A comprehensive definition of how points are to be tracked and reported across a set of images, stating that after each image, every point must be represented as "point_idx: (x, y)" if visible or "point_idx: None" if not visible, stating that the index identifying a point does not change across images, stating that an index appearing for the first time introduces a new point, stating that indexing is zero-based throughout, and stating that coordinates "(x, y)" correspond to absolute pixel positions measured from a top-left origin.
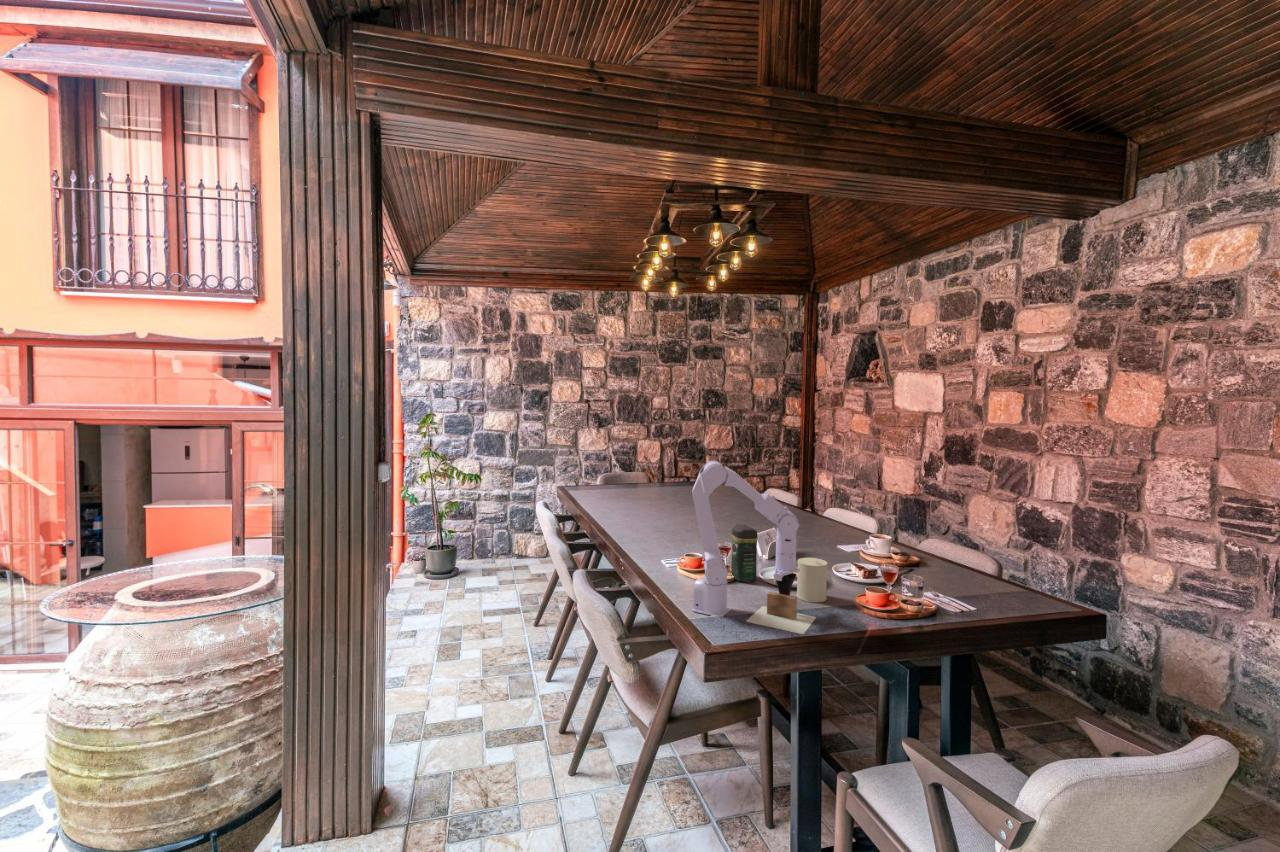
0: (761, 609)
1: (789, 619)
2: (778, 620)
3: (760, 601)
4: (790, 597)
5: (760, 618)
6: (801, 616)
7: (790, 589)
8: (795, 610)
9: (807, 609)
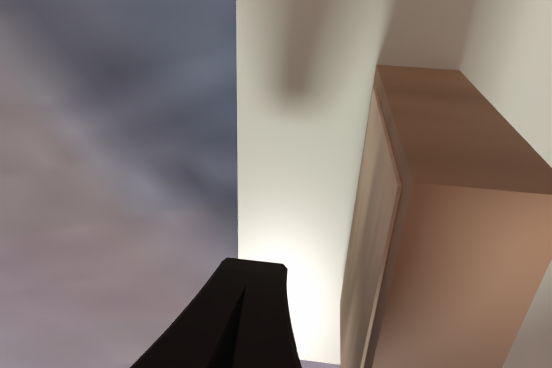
0: (318, 348)
1: None
2: None
3: (128, 361)
4: (500, 280)
5: (529, 332)
6: (313, 18)
7: (196, 353)
8: (446, 99)
9: (15, 15)
